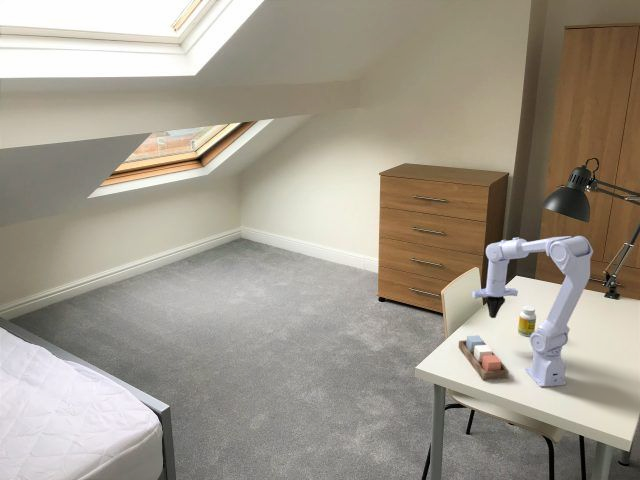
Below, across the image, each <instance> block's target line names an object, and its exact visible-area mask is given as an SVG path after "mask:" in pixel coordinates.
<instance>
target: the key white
mask: <svg viewBox="0 0 640 480" xmlns="http://www.w3.org/2000/svg"><path fill="white" fill-rule="evenodd" d="M492 352H493V350H492V349H491V348H490V346H488V344H486V345H477V346H475V347H474V357H475V359H476V360H483V356H487V355H492Z"/></svg>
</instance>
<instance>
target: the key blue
mask: <svg viewBox="0 0 640 480" xmlns="http://www.w3.org/2000/svg"><path fill="white" fill-rule="evenodd" d="M466 340H467V341H466V346H467V349H468V350H474V347H475V346H477V345H483V344H484V343H485V341H484V340H483V339H482V337H480V335H469V336H466Z"/></svg>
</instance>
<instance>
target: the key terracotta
mask: <svg viewBox="0 0 640 480" xmlns="http://www.w3.org/2000/svg"><path fill="white" fill-rule="evenodd" d="M501 362H502V361H501V360H500V358H499V357H498V356H497V354H495V355H487V356H483V360H482V367H483V369H484V370H485V371H496V370H500V369H501Z"/></svg>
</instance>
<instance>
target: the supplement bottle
mask: <svg viewBox="0 0 640 480" xmlns="http://www.w3.org/2000/svg"><path fill="white" fill-rule="evenodd" d="M536 322H537V315H536V308H535V307H534V306H531V305H524V306H522V311H521V312H520V314H519V318H518V326H517V327H518V328H517V333H518V334H519V335H521V336H523V337H530V336H531V334H532V333H534V332H535V329H536Z"/></svg>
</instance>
